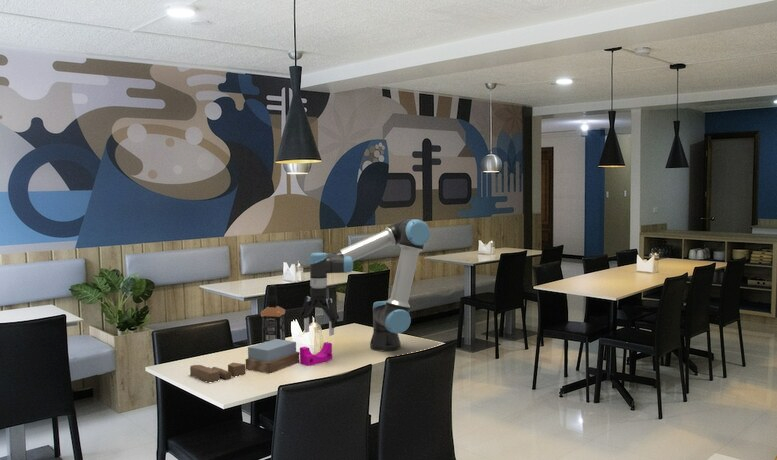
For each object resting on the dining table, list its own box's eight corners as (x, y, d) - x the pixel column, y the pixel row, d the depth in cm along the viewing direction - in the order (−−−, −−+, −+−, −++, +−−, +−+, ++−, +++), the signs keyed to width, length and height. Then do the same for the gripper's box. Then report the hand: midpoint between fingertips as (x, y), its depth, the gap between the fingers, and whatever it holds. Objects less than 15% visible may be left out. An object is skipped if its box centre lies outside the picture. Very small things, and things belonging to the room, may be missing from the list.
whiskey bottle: (287, 348, 319) (285, 284, 317) (280, 353, 310) (278, 287, 308) (267, 347, 321) (265, 284, 319) (260, 352, 311) (258, 287, 309)
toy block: (307, 366, 286) (307, 350, 286) (300, 363, 291) (299, 347, 291) (335, 360, 296) (335, 344, 295) (327, 357, 301) (327, 342, 300)
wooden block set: (210, 371, 262) (189, 363, 275) (211, 384, 262) (189, 376, 275) (246, 362, 274) (224, 355, 287) (247, 375, 274) (224, 367, 287)
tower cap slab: (296, 352, 292) (295, 341, 292) (268, 362, 277) (267, 350, 277) (276, 349, 299) (276, 338, 298) (248, 358, 284) (247, 347, 283)
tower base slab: (299, 363, 293) (299, 352, 293) (270, 374, 276) (270, 363, 275) (275, 359, 300) (275, 349, 300) (245, 370, 283) (245, 359, 282)
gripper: (291, 286, 293) (291, 332, 294) (337, 290, 281) (337, 338, 282) (301, 284, 300) (301, 329, 301) (346, 287, 288) (346, 334, 289)
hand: (319, 333), depth 292 cm, fingers open, 13 cm apart
